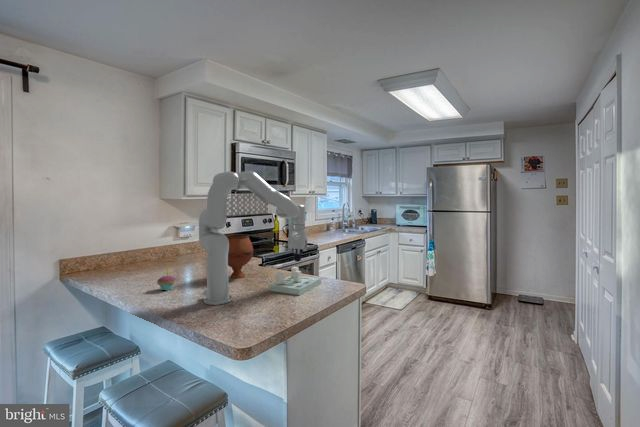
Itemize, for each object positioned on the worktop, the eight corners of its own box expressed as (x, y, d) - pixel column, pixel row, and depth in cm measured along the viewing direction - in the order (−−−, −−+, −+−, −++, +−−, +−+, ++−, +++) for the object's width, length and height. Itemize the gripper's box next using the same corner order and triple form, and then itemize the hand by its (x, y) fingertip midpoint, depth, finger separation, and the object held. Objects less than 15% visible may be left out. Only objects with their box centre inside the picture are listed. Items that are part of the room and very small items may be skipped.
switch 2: (291, 276, 180) (291, 267, 180) (294, 275, 183) (294, 266, 182) (296, 277, 179) (295, 268, 178) (298, 276, 181) (298, 267, 181)
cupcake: (165, 287, 176) (164, 264, 175) (179, 287, 174) (178, 265, 173) (153, 291, 167) (152, 268, 166) (168, 292, 165) (167, 269, 165)
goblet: (235, 283, 182) (233, 238, 180) (214, 278, 193) (212, 236, 192) (260, 275, 197) (259, 234, 195) (240, 271, 208) (239, 232, 207)
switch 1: (275, 283, 167) (275, 273, 166) (279, 282, 169) (278, 272, 169) (280, 284, 165) (280, 274, 165) (283, 282, 168) (283, 273, 168)
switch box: (269, 290, 166) (269, 284, 166) (292, 280, 186) (292, 274, 185) (299, 295, 158) (299, 288, 158) (320, 283, 177) (320, 278, 177)
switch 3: (293, 281, 170) (293, 271, 170) (296, 280, 173) (296, 270, 173) (298, 282, 169) (298, 272, 169) (301, 280, 172) (301, 271, 171)
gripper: (282, 227, 178) (282, 260, 178) (306, 228, 171) (306, 263, 172) (290, 226, 184) (289, 258, 185) (313, 227, 178) (313, 261, 178)
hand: (297, 260), depth 178 cm, fingers closed
